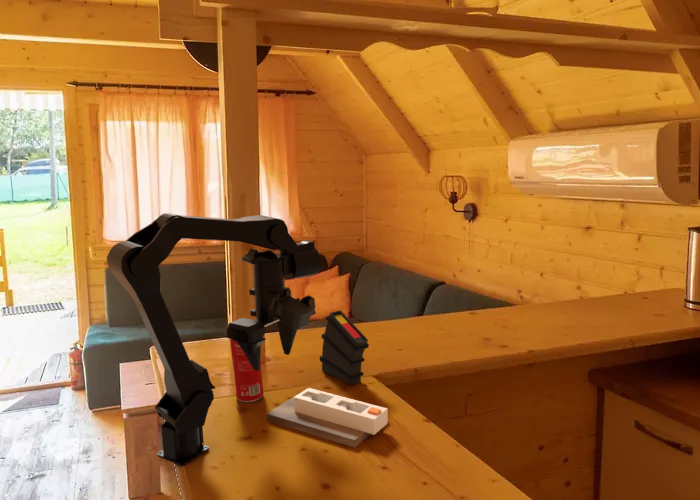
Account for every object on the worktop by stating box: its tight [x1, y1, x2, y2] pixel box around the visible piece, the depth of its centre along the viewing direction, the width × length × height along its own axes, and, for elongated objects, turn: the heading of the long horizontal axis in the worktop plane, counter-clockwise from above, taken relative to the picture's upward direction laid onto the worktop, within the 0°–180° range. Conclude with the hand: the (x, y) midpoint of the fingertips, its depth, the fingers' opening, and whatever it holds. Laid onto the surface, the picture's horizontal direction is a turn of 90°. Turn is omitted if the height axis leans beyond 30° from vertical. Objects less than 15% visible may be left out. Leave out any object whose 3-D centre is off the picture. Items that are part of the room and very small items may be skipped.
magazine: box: [319, 310, 370, 386], centre depth 138 cm, size 4×13×15 cm, turn 40°
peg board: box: [266, 390, 371, 449], centre depth 119 cm, size 12×20×4 cm, turn 58°
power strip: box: [293, 387, 389, 436], centre depth 117 cm, size 5×18×3 cm, turn 58°
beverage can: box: [229, 339, 265, 403], centre depth 128 cm, size 6×6×15 cm
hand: (272, 362), depth 117 cm, fingers open, 9 cm apart
